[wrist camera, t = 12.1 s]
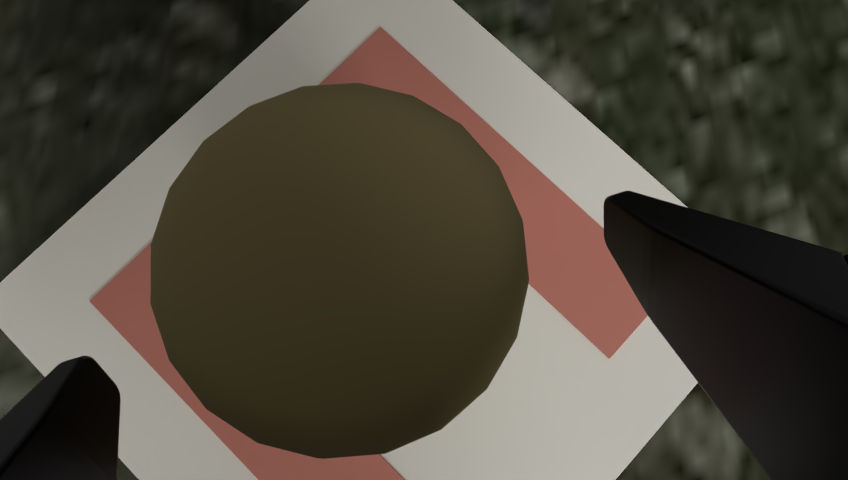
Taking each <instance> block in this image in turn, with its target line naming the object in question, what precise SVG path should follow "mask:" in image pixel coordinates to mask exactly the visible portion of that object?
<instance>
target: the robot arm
mask: <svg viewBox="0 0 848 480" xmlns="http://www.w3.org/2000/svg"><path fill="white" fill-rule="evenodd" d="M604 240H605V243H606V245H607V248H608V249H609V251H610V253H611V255H612V256H613V258H614V260H615V261H616V263H617V265H618V267H619V268H620V270H621V272H622V273H623V275H624V277H625V279H626V280H627V282H628V284H629V285H630V287H631V289H632V290H633V292H634V294H635V296H636V297H637V299H638V301H639V302H640V304H641V306H642V307H643V309H644V311H645V312H646V314H647V315H648V317H649V318H650V319H651V321H652V322H653V324H654V325H655V326H656V328H657V329H658V330H659V332H660V333H661V334H662V336H663V337H664V338H665V339H666V341H667V342H668V343H669V345H670V346H671V347H672V349H673V350H674V351H675V353H676V354H677V355H678V357H679V358H680V359H681V361H682V362H683V363H684V365H685V366H686V367H687V369H688V370H689V371H690V373H691V374H692V375H693V376H694V378H695V379H696V380H697V382H698V383H699V384H700V386H701V387H702V388H703V390H704V391H705V392H706V394H707V395H708V396H709V398H710V399H711V400H712V402H713V403H714V404H715V406H716V407H717V408H718V409H719V411H720V412H721V413H722V415H723V416H724V417H725V419H726V420H727V421H728V423H729V424H730V425H731V427H732V428H733V429H734V431H735V432H736V433H737V435H738V436H739V437H740V439H741V440H742V441H743V442H744V444H745V445H746V446H747V448H748V449H749V450H750V452H751V453H752V454H753V456H754V457H755V458H756V460H757V461H758V462H759V464H760V465H761V466H762V468H763V469H764V470H765V472H766V473H767V474H768V476H769V477H770V478H771V479H772V480H848V255H845V256H843V254H842V253H841V252H838V251H834V250H831V249H827V248H824V247H821V246H817V245H814V244H810V243H807V242H804V241H800V240H797V239H793V238H790V237H786V236H783V235H780V234H776V233H773V232H769V231H766V230H762V229H759V228H756V227H752V226H749V225H745V224H742V223H738V222H735V221H732V220H728V219H725V218H721V217H718V216H715V215H711V214H708V213H704V212H701V211H697V210H694V209H691V208H687V207H684V206H680V205H677V204H673V203H670V202H667V201H663V200H660V199H656V198H653V197H650V196H646V195H643V194H639V193H636V192H632V191H623V192H620V193H617V194H614V195H610V196H608V197H607V198H606V199H605V201H604ZM120 402H121V398H120V392H119V389H118V387H117V385H116V384H115V383H114V381H113V380H112V379H111V378H110V377H109V376H108V375H107V373H106V372H105V371H104V370H103V369H102V368H101V366H100V365H99V364H98V363H97V362H96V361H95V360H94V359H93V358H92V357H90V356H80V357H77V358H74V359H70V360H67V361H64V362H62V363H60V364H58V365H57V366H56V367H55V368H54V369H53V370H52V371H51V372H50V373H49V374H48V375H47V376H46V377H45V378H44V379H43V380H42V381H40V382H39V383H38V384H37V385H36V386H35V387H34V388H33V389H32V390H31V391H30V392H29V393H28V394H27V395H26V396H25V397H24V398H23V399H22V400H21V401H20V402H18V403H17V404H16V405H15V406H14V407H13V408H12V409H11V410H10V411H9V412H8V413H7V414H6V415H5V416H4V417H3V418H2V419H1V420H0V480H117V467H118V446H119V424H120Z"/></svg>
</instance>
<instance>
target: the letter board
mask: <svg viewBox="0 0 848 480" xmlns="http://www.w3.org/2000/svg"><path fill="white" fill-rule="evenodd" d="M346 83H362V84H366V85H371V86H375V87H379V88H383V89H387V90H392V91H396V92H400V93H404V94H408V95H413V96H415V97H416V98H418V99H420V100H421V101H423V102H425V103H426V104H428V105H430V106H432V107H433V108H435V109H437V110H438V111H440V112H442V113H443V114H445V115H447V116H448V117H450V118H452V119H453V120H455V121H457V122H459V123H460V124H462V126H463V127H464V128H465V129H466V130H467V131H468V132H469V133H470V134H471V136H472V137H473V138H474V139H475V140H476V141H477V142H478V143H479V145H480V146H481V147H482V148H483V149H484V150H485V151H486V152H487V153H488V155H489V156H490V157H491V158H492V159H493V160H494V161H495V162H496V164H497V165H498V166H499V168H500V170H501V172H502V175H503V177H504V179H505V181H506V184H507V186H508V188H509V190H510V193H511V195H512V197H513V199H514V202H515V204H516V206H517V208H518V211H519V213H520V215H521V217H522V221H523V226H524V235H525V245H526V254H527V264H528V273H529V284H528V288H527V293H526V298H525V303H524V307H523V312H522V317H521V321H520V326H519V331H518V335H517V338H516V340H515V342H514V344H513V345H512V347H511V349H510V350H509V352H508V354H507V356H506V357H505V359H504V361H503V362H502V364H501V366H500V368H499V369H498V371H497V373H496V375H495V376H494V378H493V380H492V381H491V383H490V385H489V387H488V388H487V390H485V391H484V392H483V393H482V394H481V395H480V396H479V397H478V398H476V399H475V400H474V401H473V402H472V403H471V404H470V405H469V406H468V407H466V408H465V409H464V410H463V411H462V412H461V413H460V414H459V415H457V416H456V417H455V418H454V419H453V420H452V421H451V422H450V423H448V424H447V425H446V426H445V427H444V428H443V429H442V430H439V431H437V432H435V433H432V434H430V435H428V436H425V437H423V438H421V439H418V440H416V441H414V442H411V443H409V444H407V445H405V446H402V447H400V448H398V449H395V450H393V451H391V452H388V453H386V454H377V455H364V456H352V457H339V458H327V459H319V458H314V457H310V456H306V455H302V454H298V453H294V452H291V451H287V450H283V449H279V448H275V447H271V446H267V445H263V444H259V443H257V442H255V441H254V440H252V439H251V438H249V437H248V436H246V435H244V434H243V433H241V432H240V431H238V430H237V429H235V428H234V427H232V426H231V425H229V424H228V423H226V422H225V421H223V420H222V419H220V418H219V417H217V416H216V415H214V414H213V413H211V412H210V411H208V410H207V409H206V408H205V407H204V406H203V404H202V403H201V402H200V400H199V399H198V398H197V397H196V395H195V394H194V393H193V391H192V390H191V389H190V387H189V386H188V385H187V383H186V382H185V381H184V379H183V378H182V377H181V375H180V374H179V373H178V371H177V370H176V369H175V368H174V366H173V365H172V364H171V362H170V361H169V358H168V355H167V352H166V349H165V346H164V343H163V340H162V337H161V334H160V331H159V328H158V325H157V322H156V319H155V316H154V313H153V310H152V307H151V304H150V294H151V242H152V239H153V236H154V233H155V230H156V227H157V224H158V221H159V218H160V215H161V212H162V209H163V206H164V203H165V200H166V197H167V194H168V191H169V188H170V187H171V185H172V184H173V182H174V181H175V180H176V178H177V177H178V175H179V174H180V173H181V171H182V170H183V169H184V167H185V166H186V164H187V163H188V162H189V160H190V159H191V157H192V156H193V155H194V153H195V152H196V150H197V149H198V148H199V146H200V145H201V144H202V142H203V141H204V140H205V139H207V138H208V137H209V136H211V135H212V134H213V133H214V132H216V131H217V130H218V129H220V128H221V127H222V126H224V125H225V124H226V123H228V122H229V121H230V120H232V119H233V118H234V117H236V116H237V115H238V114H239V113H241V112H242V111H243V110H245V109H246V108H247V107H249V106H251V105H254V104H256V103H259V102H262V101H264V100H267V99H270V98H272V97H275V96H278V95H280V94H283V93H286V92H288V91H291V90H294V89H297V88H299V87H302V86H315V85H330V84H346ZM623 191H632V192H636V193H639V194H643V195H646V196H650V197H653V198H656V199H660V200H663V201H667V202H670V203H673V204H677V205H680V206H684V207H686V206H685V205H684V204H683V203H682V202H681V201H680V200H678V199H677V198H676V197H675V196H674V195H673V194H672V193H671V192H669V191H668V190H667V189H666V188H665V187H664V186H663V185H661V184H660V183H659V182H658V181H657V180H656V179H655V178H654V177H652V176H651V175H650V174H649V173H648V172H647V171H646V170H644V169H643V168H642V167H641V166H640V165H639V164H638V163H636V162H635V161H634V160H633V159H632V158H631V157H630V156H629V155H627V154H626V153H625V152H624V151H623V150H622V149H621V148H619V147H618V146H617V145H616V144H615V143H614V142H613V141H612V140H610V139H609V138H608V137H607V136H606V135H605V134H604V133H602V132H601V131H600V130H599V129H598V128H597V127H596V126H595V125H593V124H592V123H591V122H590V121H589V120H588V119H587V118H585V117H584V116H583V115H582V114H581V113H580V112H579V111H578V110H576V109H575V108H574V107H573V106H572V105H571V104H570V103H568V102H567V101H566V100H565V99H564V98H563V97H562V96H561V95H559V94H558V93H557V92H556V91H555V90H554V89H553V88H551V87H550V86H549V85H548V84H547V83H546V82H545V81H543V80H542V79H541V78H540V77H539V76H538V75H537V74H536V73H534V72H533V71H532V70H531V69H530V68H529V67H528V66H526V65H525V64H524V63H523V62H522V61H521V60H520V59H519V58H517V57H516V56H515V55H514V54H513V53H512V52H511V51H509V50H508V49H507V48H506V47H505V46H504V45H503V44H502V43H500V42H499V41H498V40H497V39H496V38H495V37H494V36H492V35H491V34H490V33H489V32H488V31H487V30H486V29H485V28H483V27H482V26H481V25H480V24H479V23H478V22H477V21H475V20H474V19H473V18H472V17H471V16H470V15H469V14H467V13H466V12H465V11H464V10H463V9H462V8H461V7H460V6H458V5H457V4H456V3H455V2H454V1H453V0H309V1H308V2H307V3H306V4H305V5H304V6H303V7H302V8H301V9H299V10H298V11H297V12H296V13H295V14H294V15H293V16H292V17H291V18H290V19H288V20H287V21H286V22H285V23H284V24H283V25H282V26H281V27H280V28H279V29H278V30H276V31H275V32H274V33H273V34H272V35H271V36H270V37H269V38H268V39H267V40H265V41H264V42H263V43H262V44H261V45H260V46H259V47H258V48H257V49H256V50H254V51H253V52H252V53H251V54H250V55H249V56H248V57H247V58H246V59H245V60H244V61H242V62H241V63H240V64H239V65H238V66H237V67H236V68H235V69H234V70H233V71H231V72H230V73H229V74H228V75H227V76H226V77H225V78H224V79H223V80H222V81H221V82H219V83H218V84H217V85H216V86H215V87H214V88H213V89H212V90H211V91H210V92H208V93H207V94H206V95H205V96H204V97H203V98H202V99H201V100H200V101H199V102H198V103H196V104H195V105H194V106H193V107H192V108H191V109H190V110H189V111H188V112H187V113H185V114H184V115H183V116H182V117H181V118H180V119H179V120H178V121H177V122H176V123H174V124H173V125H172V126H171V127H170V128H169V129H168V130H167V131H166V132H165V133H164V134H162V135H161V136H160V137H159V138H158V139H157V140H156V141H155V142H154V143H153V144H151V145H150V146H149V147H148V148H147V149H146V150H145V151H144V152H143V153H142V154H141V155H139V156H138V157H137V158H136V159H135V160H134V161H133V162H132V163H131V164H130V165H128V166H127V167H126V168H125V169H124V170H123V171H122V172H121V173H120V174H119V175H117V176H116V177H115V178H114V179H113V180H112V181H111V182H110V183H109V184H108V185H107V186H105V187H104V188H103V189H102V190H101V191H100V192H99V193H98V194H97V195H96V196H94V197H93V198H92V199H91V200H90V201H89V202H88V203H87V204H86V205H85V206H84V207H82V208H81V209H80V210H79V211H78V212H77V213H76V214H75V215H74V216H73V217H71V218H70V219H69V220H68V221H67V222H66V223H65V224H64V225H63V226H62V227H60V228H59V229H58V230H57V231H56V232H55V233H54V234H53V235H52V236H51V237H50V238H48V239H47V240H46V241H45V242H44V243H43V244H42V245H41V246H40V247H39V248H37V249H36V250H35V251H34V252H33V253H32V254H31V255H30V256H29V257H28V258H27V259H25V260H24V261H23V262H22V263H21V264H20V265H19V266H18V267H17V268H16V269H14V270H13V271H12V272H11V273H10V274H9V275H8V276H7V277H6V278H5V279H4V280H2V281H1V282H0V329H1V330H2V331H3V332H4V333H5V334H6V335H7V336H8V337H9V338H10V340H11V341H12V342H13V343H14V344H15V345H16V346H17V347H18V348H19V349H20V350H21V352H22V353H23V354H24V355H25V356H26V357H27V358H28V359H29V360H30V361H31V362H32V364H33V365H34V366H35V367H36V368H37V369H38V370H39V371H40V372H41V373H42V375H43V376H44V377H46V376H47V375H48V374H49V373H50V372H51V371H52V370H53V369H54V368H55V367H56V366H57V365H58V364H60V363H62V362H64V361H67V360H70V359H74V358H77V357H80V356H90V357H92V358H93V359H94V360H95V361H96V362H97V363H98V364H99V365H100V366H101V368H102V369H103V370H104V371H105V372H106V373H107V375H108V376H109V377H110V378H111V379H112V380H113V381H114V383H115V384H116V385H117V387H118V389H119V392H120V398H121V402H120V424H119V446H118V457H119V459H120V460H121V461H122V462H123V463H124V464H125V465H126V466H127V467H128V468H129V469H130V471H131V472H132V473H133V474H134V475H135V476H136V477H137V478H138V479H139V480H616V479H617V477H618V476H619V475H620V474H621V473H622V471H623V470H624V469H625V468H626V467H627V466H628V464H629V463H630V462H631V461H632V460H633V458H634V457H635V456H636V455H637V454H638V453H639V451H640V450H641V449H642V448H643V447H644V445H645V444H646V443H647V442H648V441H649V440H650V438H651V437H652V436H653V435H654V434H655V432H656V431H657V430H658V429H659V428H660V427H661V425H662V424H663V423H664V422H665V421H666V419H667V418H668V417H669V416H670V415H671V414H672V412H673V411H674V410H675V409H676V408H677V406H678V405H679V404H680V403H681V402H682V401H683V399H684V398H685V397H686V396H687V395H688V393H689V392H690V391H691V390H692V389H693V388H694V386H695V385H696V384H697V383H698V382H697V380H696V379H695V378H694V376H693V375H692V374H691V373H690V371H689V370H688V369H687V367H686V366H685V365H684V363H683V362H682V361H681V359H680V358H679V357H678V355H677V354H676V353H675V351H674V350H673V349H672V347H671V346H670V345H669V343H668V342H667V341H666V339H665V338H664V337H663V336H662V334H661V333H660V332H659V330H658V329H657V328H656V326H655V325H654V324H653V322H652V321H651V319H650V318H649V317H648V315H647V314H646V312H645V311H644V309H643V307H642V306H641V304H640V302H639V301H638V299H637V297H636V296H635V294H634V292H633V290H632V289H631V287H630V285H629V284H628V282H627V280H626V279H625V277H624V275H623V273H622V272H621V270H620V268H619V267H618V265H617V263H616V261H615V260H614V258H613V256H612V255H611V253H610V251H609V249H608V248H607V245H606V243H605V240H604V201H605V199H606V198H607V197H608V196H610V195H614V194H617V193H620V192H623ZM687 208H688V207H687Z"/></svg>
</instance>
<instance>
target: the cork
mask: <svg viewBox="0 0 848 480" xmlns="http://www.w3.org/2000/svg"><path fill="white" fill-rule="evenodd" d="M528 284H529V273H528V264H527V254H526V245H525V235H524V226H523V221H522V217H521V215H520V213H519V211H518V208H517V206H516V204H515V202H514V199H513V197H512V195H511V193H510V190H509V188H508V186H507V184H506V181H505V179H504V177H503V175H502V172H501V170H500V168H499V166H498V165H497V164H496V162H495V161H494V160H493V159H492V158H491V157H490V156H489V155H488V153H487V152H486V151H485V150H484V149H483V148H482V147H481V146H480V145H479V143H478V142H477V141H476V140H475V139H474V138H473V137H472V136H471V134H470V133H469V132H468V131H467V130H466V129H465V128H464V127H463V126H462V124H460V123H459V122H457V121H455V120H453V119H452V118H450V117H448V116H447V115H445V114H443V113H442V112H440V111H438V110H437V109H435V108H433V107H432V106H430V105H428V104H426V103H425V102H423V101H421V100H420V99H418V98H416V97H415V96H413V95H408V94H404V93H400V92H396V91H392V90H387V89H383V88H379V87H375V86H371V85H366V84H362V83H346V84H330V85H315V86H302V87H299V88H297V89H294V90H291V91H288V92H286V93H283V94H280V95H278V96H275V97H272V98H270V99H267V100H264V101H262V102H259V103H256V104H254V105H251V106H249V107H247V108H246V109H245V110H243V111H242V112H241V113H239V114H238V115H237V116H236V117H234V118H233V119H232V120H230V121H229V122H228V123H226V124H225V125H224V126H222V127H221V128H220V129H218V130H217V131H216V132H214V133H213V134H212V135H211V136H209V137H208V138H207V139H205V140H204V141H203V142H202V144H201V145H200V146H199V148H198V149H197V150H196V152H195V153H194V155H193V156H192V157H191V159H190V160H189V162H188V163H187V164H186V166H185V167H184V169H183V170H182V171H181V173H180V174H179V175H178V177H177V178H176V180H175V181H174V182H173V184H172V185H171V187H170V188H169V191H168V194H167V197H166V200H165V203H164V206H163V209H162V212H161V215H160V218H159V221H158V224H157V227H156V230H155V233H154V236H153V239H152V242H151V294H150V304H151V307H152V310H153V313H154V316H155V319H156V322H157V325H158V328H159V331H160V334H161V337H162V340H163V343H164V346H165V349H166V352H167V355H168V358H169V361H170V362H171V364H172V365H173V366H174V368H175V369H176V370H177V371H178V373H179V374H180V375H181V377H182V378H183V379H184V381H185V382H186V383H187V385H188V386H189V387H190V389H191V390H192V391H193V393H194V394H195V395H196V397H197V398H198V399H199V400H200V402H201V403H202V404H203V406H204V407H205V408H206V409H207V410H208V411H210V412H211V413H213V414H214V415H216V416H217V417H219V418H220V419H222V420H223V421H225V422H226V423H228V424H229V425H231V426H232V427H234V428H235V429H237V430H238V431H240V432H241V433H243V434H244V435H246V436H248V437H249V438H251V439H252V440H254V441H255V442H257V443H259V444H263V445H267V446H271V447H275V448H279V449H283V450H287V451H291V452H294V453H298V454H302V455H306V456H310V457H314V458H319V459H327V458H339V457H352V456H364V455H377V454H386V453H388V452H391V451H393V450H395V449H398V448H400V447H402V446H405V445H407V444H409V443H411V442H414V441H416V440H418V439H421V438H423V437H425V436H428V435H430V434H432V433H435V432H437V431H439V430H442V429H443V428H444V427H445V426H446V425H447V424H448V423H450V422H451V421H452V420H453V419H454V418H455V417H456V416H457V415H459V414H460V413H461V412H462V411H463V410H464V409H465V408H466V407H468V406H469V405H470V404H471V403H472V402H473V401H474V400H475V399H476V398H478V397H479V396H480V395H481V394H482V393H483V392H484V391H485V390H487V388H488V387H489V385H490V383H491V381H492V380H493V378H494V376H495V375H496V373H497V371H498V369H499V368H500V366H501V364H502V362H503V361H504V359H505V357H506V356H507V354H508V352H509V350H510V349H511V347H512V345H513V344H514V342H515V340H516V338H517V335H518V331H519V326H520V321H521V317H522V312H523V307H524V303H525V298H526V293H527V288H528Z"/></svg>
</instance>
